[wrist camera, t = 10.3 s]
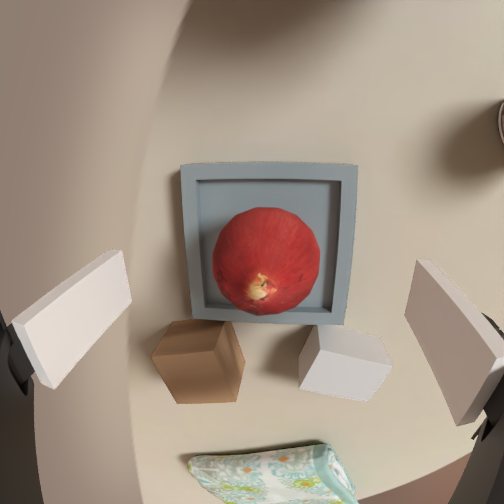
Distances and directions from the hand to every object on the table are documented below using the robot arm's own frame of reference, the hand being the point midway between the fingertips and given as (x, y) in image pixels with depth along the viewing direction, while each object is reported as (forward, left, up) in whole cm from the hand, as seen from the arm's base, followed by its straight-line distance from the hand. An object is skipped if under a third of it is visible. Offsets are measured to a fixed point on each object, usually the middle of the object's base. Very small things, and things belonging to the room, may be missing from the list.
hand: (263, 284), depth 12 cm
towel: (+35, +2, -9) cm, 36 cm away
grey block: (+10, +6, -9) cm, 14 cm away
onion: (0, 0, -8) cm, 8 cm away
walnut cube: (+10, -5, -9) cm, 14 cm away
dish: (+1, 0, -9) cm, 9 cm away
